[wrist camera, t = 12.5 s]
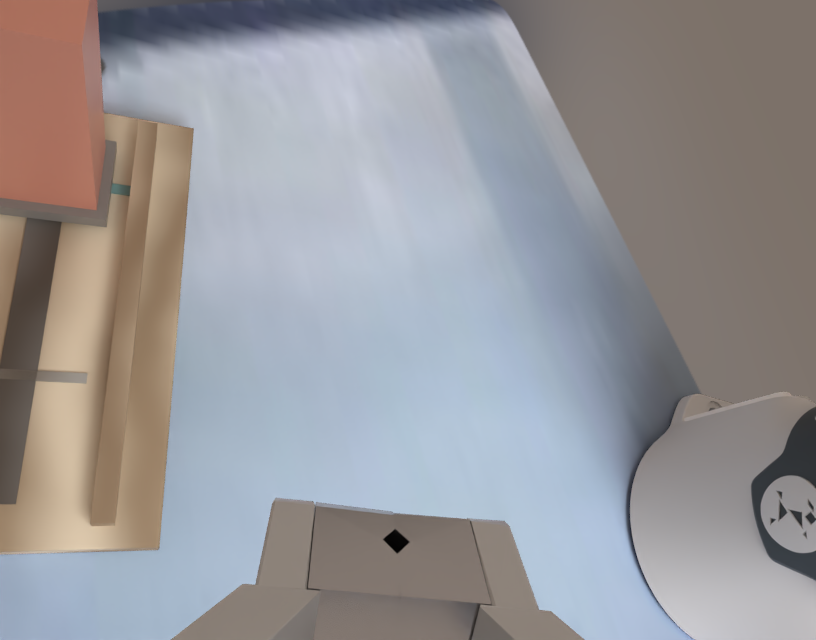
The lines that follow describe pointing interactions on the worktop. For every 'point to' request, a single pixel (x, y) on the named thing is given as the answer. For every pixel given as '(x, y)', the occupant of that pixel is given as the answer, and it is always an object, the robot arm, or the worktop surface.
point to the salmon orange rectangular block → (53, 113)
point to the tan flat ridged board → (93, 356)
